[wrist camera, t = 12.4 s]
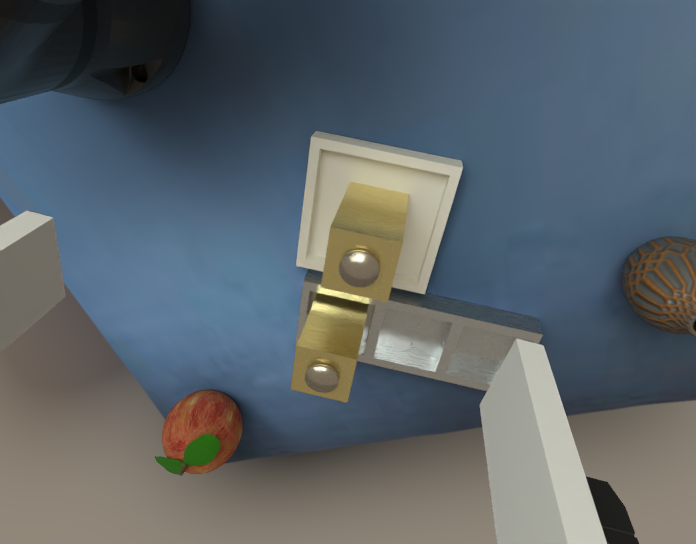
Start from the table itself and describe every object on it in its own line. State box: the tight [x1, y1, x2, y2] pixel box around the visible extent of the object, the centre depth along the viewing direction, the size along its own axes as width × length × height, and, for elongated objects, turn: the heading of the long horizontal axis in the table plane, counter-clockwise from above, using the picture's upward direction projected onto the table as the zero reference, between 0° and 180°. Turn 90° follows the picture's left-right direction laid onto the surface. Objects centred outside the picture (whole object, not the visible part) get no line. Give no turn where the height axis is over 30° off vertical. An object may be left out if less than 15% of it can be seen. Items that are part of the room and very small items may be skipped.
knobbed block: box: [321, 181, 409, 302], centre depth 36 cm, size 5×5×10 cm
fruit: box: [155, 390, 243, 475], centre depth 52 cm, size 9×10×10 cm
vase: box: [622, 237, 696, 337], centre depth 35 cm, size 7×7×9 cm
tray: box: [296, 131, 463, 294], centre depth 40 cm, size 12×12×2 cm
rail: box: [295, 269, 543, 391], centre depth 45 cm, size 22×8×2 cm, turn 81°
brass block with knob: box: [291, 292, 369, 403], centre depth 42 cm, size 5×5×10 cm
